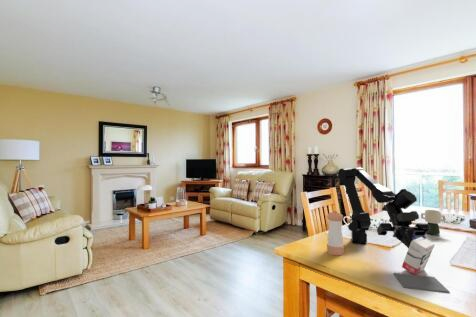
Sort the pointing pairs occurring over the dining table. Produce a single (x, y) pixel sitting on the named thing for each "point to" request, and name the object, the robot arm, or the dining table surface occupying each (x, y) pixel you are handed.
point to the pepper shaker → (335, 234)
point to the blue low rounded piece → (419, 237)
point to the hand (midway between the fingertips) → (411, 248)
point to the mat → (420, 282)
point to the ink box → (418, 255)
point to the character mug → (433, 220)
